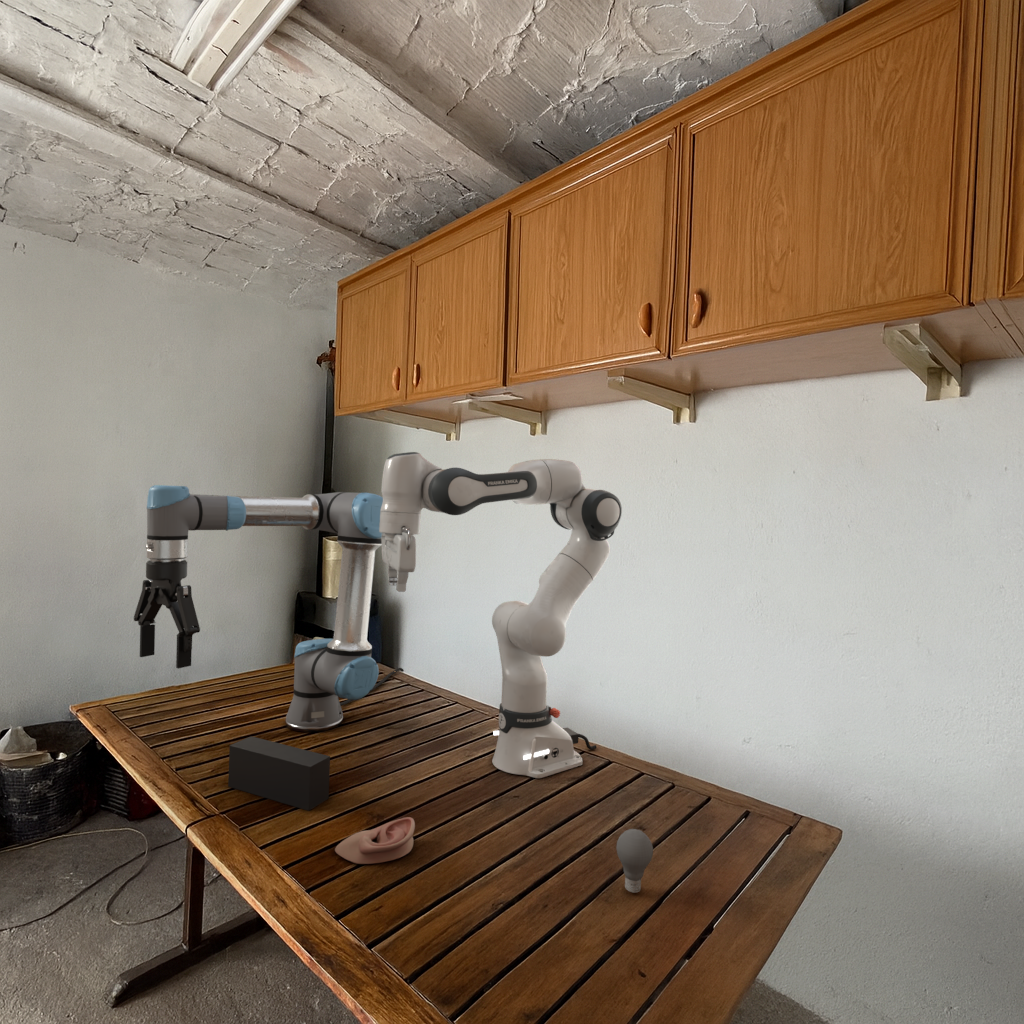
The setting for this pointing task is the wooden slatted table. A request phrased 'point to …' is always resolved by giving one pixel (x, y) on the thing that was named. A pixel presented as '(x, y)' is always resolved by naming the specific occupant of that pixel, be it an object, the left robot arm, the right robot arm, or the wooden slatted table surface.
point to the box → (279, 772)
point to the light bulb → (634, 857)
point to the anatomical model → (379, 843)
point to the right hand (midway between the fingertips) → (396, 588)
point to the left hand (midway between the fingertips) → (164, 661)
